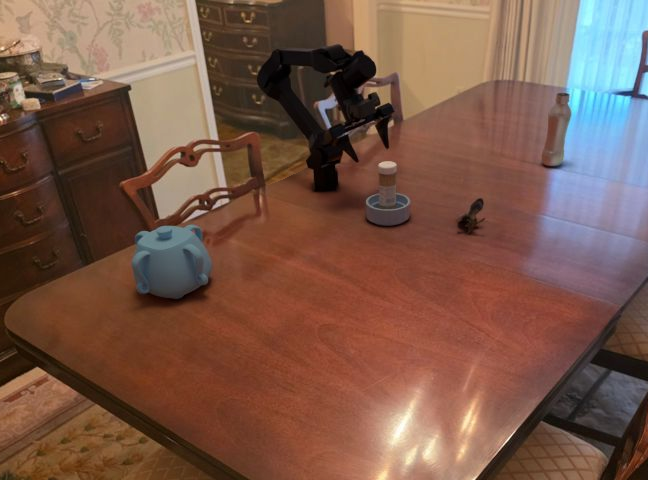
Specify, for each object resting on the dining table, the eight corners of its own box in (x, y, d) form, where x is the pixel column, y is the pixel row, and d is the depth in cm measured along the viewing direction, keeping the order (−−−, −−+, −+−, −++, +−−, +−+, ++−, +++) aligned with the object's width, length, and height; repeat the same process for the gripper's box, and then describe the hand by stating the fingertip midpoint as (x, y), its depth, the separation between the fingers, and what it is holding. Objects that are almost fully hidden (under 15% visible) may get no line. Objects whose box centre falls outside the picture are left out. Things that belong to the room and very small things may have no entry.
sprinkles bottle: (395, 211, 161) (396, 160, 153) (396, 218, 157) (397, 166, 149) (378, 211, 161) (377, 160, 153) (378, 219, 157) (378, 167, 149)
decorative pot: (211, 302, 129) (200, 243, 121) (133, 308, 128) (116, 249, 120) (216, 264, 142) (206, 209, 134) (145, 270, 141) (131, 214, 133)
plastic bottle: (538, 167, 184) (549, 96, 171) (542, 159, 188) (553, 90, 176) (560, 169, 182) (573, 98, 169) (563, 162, 186) (576, 92, 174)
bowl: (367, 228, 155) (367, 211, 152) (365, 209, 164) (364, 193, 161) (412, 226, 155) (412, 209, 152) (407, 207, 164) (407, 191, 161)
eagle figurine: (492, 229, 149) (490, 208, 155) (479, 208, 145) (476, 187, 151) (464, 243, 153) (462, 221, 159) (450, 223, 149) (449, 202, 155)
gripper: (324, 98, 145) (352, 161, 148) (390, 71, 150) (415, 133, 153) (312, 113, 156) (338, 172, 159) (374, 87, 160) (398, 145, 164)
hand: (373, 155), depth 158 cm, fingers open, 9 cm apart
